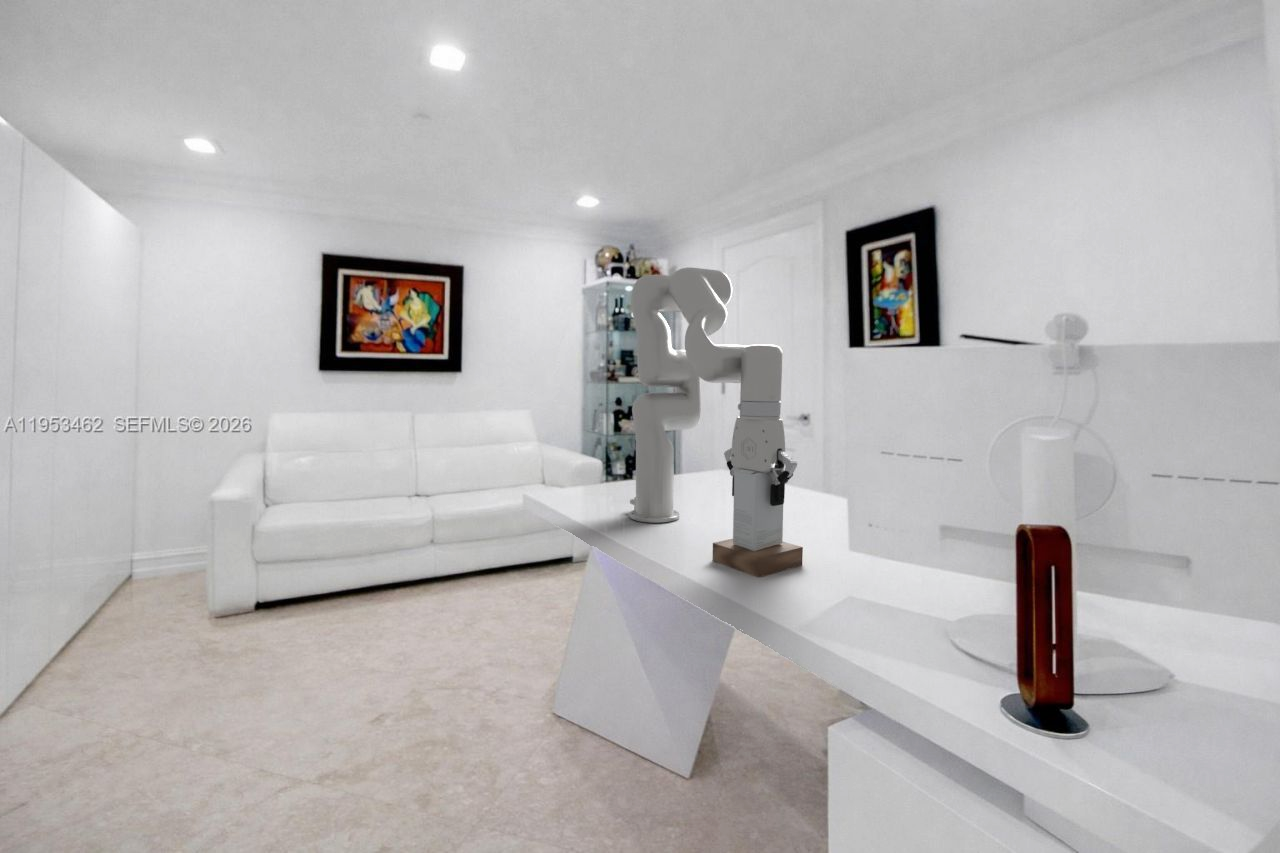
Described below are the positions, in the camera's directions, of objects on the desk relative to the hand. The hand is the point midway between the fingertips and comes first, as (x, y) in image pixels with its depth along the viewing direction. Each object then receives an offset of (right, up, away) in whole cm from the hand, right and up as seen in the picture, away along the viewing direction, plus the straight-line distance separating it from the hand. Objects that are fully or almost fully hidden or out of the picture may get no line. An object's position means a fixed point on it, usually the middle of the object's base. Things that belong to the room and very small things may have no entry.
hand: (757, 500), depth 115 cm
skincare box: (0, -9, 0) cm, 9 cm away
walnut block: (0, -12, +1) cm, 12 cm away
